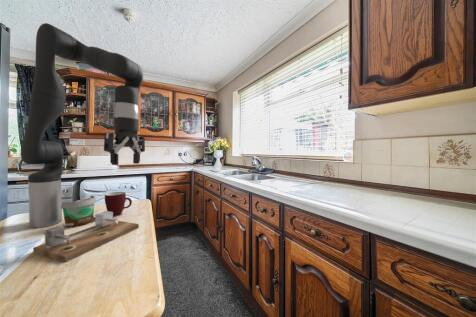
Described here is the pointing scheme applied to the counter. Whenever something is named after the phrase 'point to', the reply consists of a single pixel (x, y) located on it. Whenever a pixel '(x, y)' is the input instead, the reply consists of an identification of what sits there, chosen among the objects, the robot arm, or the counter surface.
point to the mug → (116, 202)
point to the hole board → (80, 240)
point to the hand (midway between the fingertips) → (126, 164)
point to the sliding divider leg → (105, 219)
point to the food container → (78, 212)
